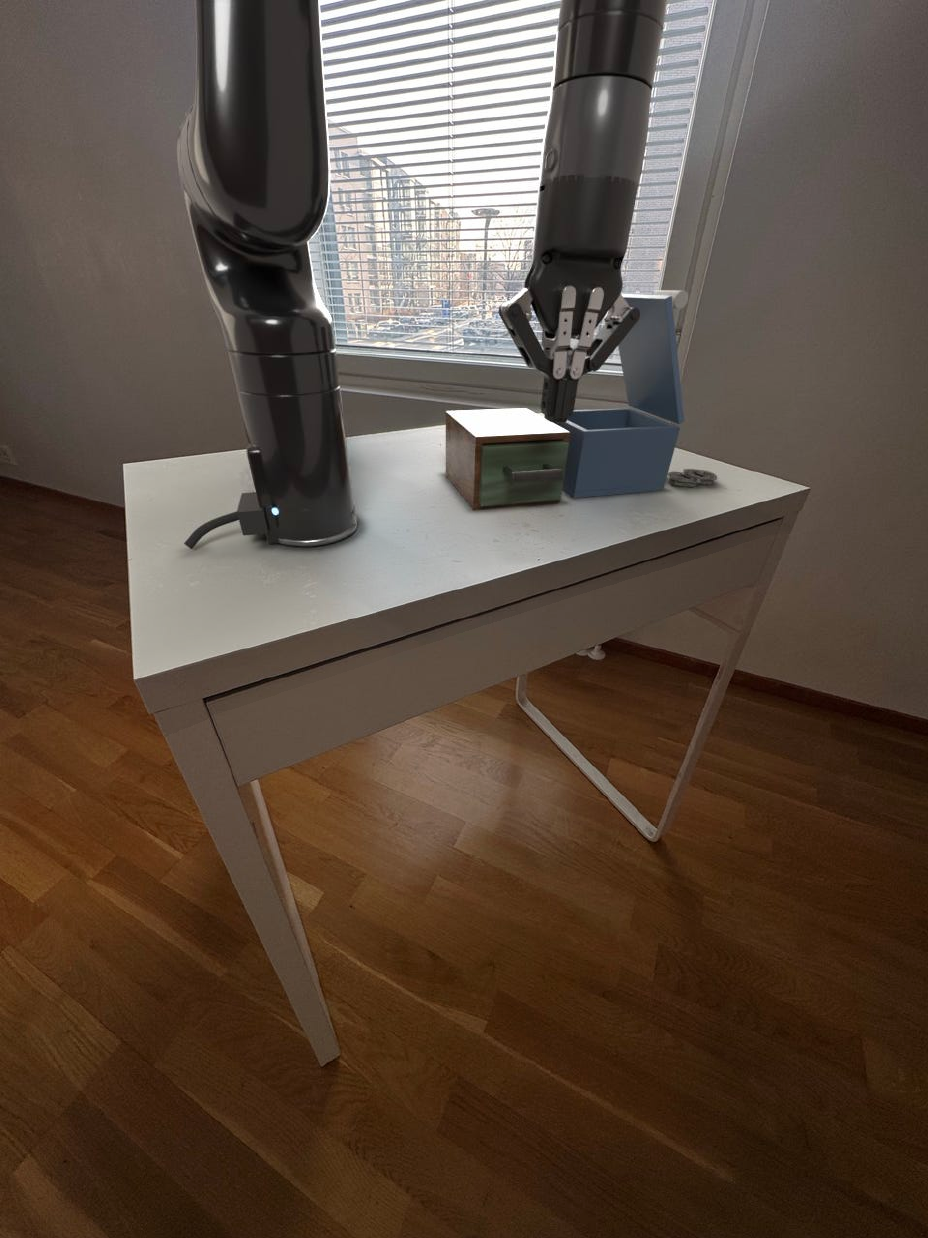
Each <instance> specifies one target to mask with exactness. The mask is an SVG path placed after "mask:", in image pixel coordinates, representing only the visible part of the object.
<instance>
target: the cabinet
mask: <svg viewBox="0 0 928 1238" xmlns="http://www.w3.org/2000/svg"><path fill="white" fill-rule="evenodd" d="M569 437H570V432H569V431H567V430H565V429H563V428H562V427H560V426H558V425H556V424H554V423H552V422H550V421H548V420H546V419H545V418H544V417H543V416H541V415H540V414H538V413H536V412H534V411H532V410H530V408H529V409H528V408H527V407H523V408H522V407H521V408H520V407H519V408H493V409H491V408H490V409H467V410H463V409H462V410H446V411H445V477H447V479H448V480H449V481H450V483H451V484H452V485H453V486H454V488H455V489H456V490H457V491H458V494H459V495H460V496H461V497H462V498H463V499H464V501H465V502H466V503H467V504H468V506H469V507H470V508H471V510H472V511H481V510H490V509H491V510H493V509H502V508H503V509H504V508H515V507H526V506H527V507H528V506H536V505H547V504H548V505H550V504H558V503H561V499H560V500H549V501H537V502H526V503H515V504H503V505H492V506H481V505H480V504H479V503H478V499H479V475H480V451H481V445H482V444H488V443H507V442H525V441H543V440H554V441H566V442H568V443H569Z"/></svg>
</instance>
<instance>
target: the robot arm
mask: <svg viewBox="0 0 928 1238" xmlns="http://www.w3.org/2000/svg"><path fill="white" fill-rule="evenodd" d="M667 6H668V0H561V1H560V7H559V13H558V20H557V21H558V23H557V30H556V38H555V46H554V47H555V48H554V56H553V57H554V59H553V69H552V77H551V89H550V92H551V93H550V98H549V105H548V110H547V116H546V120H545V126H544V131H543V140H542V147H541V158H540V165H539V166H540V167H539V179H538V189H537V198H536V208H535V218H534V219H535V220H534V230H533V239H532V261H531V264H530V268H529V270H528V272H527V274H526V276H525V278H524V282H523V283H524V285H523V286H524V288H523V289H522V290H521V291H520V292H519V293H518V294H516V295H515V296H514V297H513V298H512V299H510V301H504V302H502V303H501V304H500V305H499V307H498V316H499V317H500V319H501V321H502V323H503V325H504V327H505V328H506V330H507V332H508V334H509V336H510V338H511V340H512V341H513V343H514V345H515V347H516V349H517V351H518V352H519V355H520V356H521V358H522V360H523V362H524V363H525V366H526V367H528V368H530V369H533V370H535V371H537V372H540V373H541V374H542V377H543V384H542V393H541V401H540V411H541V414H543V415H544V416H545V419H546V420H548V421H550V422H552V423H553V422H567V420H568V416H571V415H572V413H573V411H574V410H575V404H576V399H577V393H578V385H579V382H580V379H581V378H582V376H584V375H586V374H589V373H591V372H598V371H599V370H600V369H601V368H602V366H603V365H604V364H605V362H606V361H607V360H608V359H609V358H610V356H611V355H612V354H613V353H614V351H615V350H616V349H617V348H618V345H619V344H620V343H621V341H622V340H623V339H624V338H625V336H626V335H627V334H628V333H629V331H630V330H631V329H632V328H633V326H634V325H635V324H636V323H637V321H638V320H639V318H640V311H639V309H638V308H631V307H630V306H629V305H628V303H627V302H626V300H625V299H624V298H623V296H622V295H621V294H622V291H623V285H624V281H623V278H622V263H623V262H624V258H625V255H626V253H627V250H628V245H629V240H630V234H631V228H632V223H633V217H634V212H635V206H636V201H637V196H638V191H639V186H640V185H639V184H640V179H641V175H642V171H643V163H644V158H645V152H646V146H647V139H648V132H649V121H650V110H651V101H652V100H651V99H652V92H653V87H654V79H655V76H656V71H657V70H656V69H657V64H658V60H659V59H658V58H659V53H660V48H661V42H662V38H663V32H664V27H665V21H666V20H665V19H666V13H667ZM194 10H195V11H194V13H195V88H194V99H193V102H192V104H191V105H190V107H189V108H188V110H187V111H186V113H185V114H184V116H183V118H182V120H181V123H180V125H179V128H178V133H177V139H176V162H177V169H178V176H179V182H180V187H181V191H182V196H183V198H184V203H185V208H186V211H187V215H188V220H189V224H190V228H191V232H192V236H193V240H194V243H195V244H194V245H195V247H196V251H197V256H198V259H199V263H200V266H201V271H202V275H203V278H204V282H205V286H206V290H207V294H208V298H209V300H210V304H211V306H212V309H213V311H214V314H215V316H216V318H217V321H218V323H219V326H220V329H221V332H222V336H223V340H224V341H223V342H224V345H225V349H227V350H226V353H227V357H228V362H229V367H230V371H231V375H232V377H233V383H234V387H235V391H236V396H237V401H238V405H239V409H240V413H241V417H242V422H243V426H244V430H245V434H246V439H247V444H246V445H247V446H246V451H245V453H246V457H247V460H248V461H247V462H248V465H249V469H250V474H251V478H252V482H253V486H254V490H255V491H250V492H241V495H240V498H239V502H238V505H237V509H236V511H233V512H230V513H226V514H224V515H221V516H218V517H216V518H213V519H211V520H209V521H207V522H204V523H203V524H201V525H200V526H199V527H197V528H196V529H195V530H194V531H193V532H192V533H191V534H190V535H189V536H188V538H187V539H186V540H185V541H184V542H183V544H184V545H185V546H186V547H187V548H189V549H190V550H193V549H194V547H195V546H196V545H197V544H198V543H199V541H200V540H201V539H202V538H204V536H206V535H207V534H208V533H210V532H212V531H214V530H216V529H217V528H220V527H222V526H225V525H228V524H231V523H235V522H236V521H238V522H239V526H240V530H241V533H242V536H254V535H265V538H266V541H267V544H269V545H272V544H282V545H285V546H292V547H318V546H324V545H329V544H332V543H336V542H338V541H342V540H344V539H346V538H347V537H349V536H351V535H352V534H353V533H354V532H355V531H356V530H357V528H358V520H357V516H356V507H355V503H354V494H353V486H352V485H353V484H352V475H351V467H350V459H349V452H348V451H349V450H348V441H347V434H346V425H345V417H344V415H345V414H344V408H343V407H344V406H343V399H342V390H341V389H342V388H341V382H340V373H339V365H338V356H337V349H336V339H335V331H334V323H333V319H332V316H331V314H330V313H329V310H328V309H327V308H326V306H325V305H324V303H323V301H322V299H321V297H320V294H319V292H318V289H317V288H318V287H317V286H316V282H315V278H314V277H315V276H314V272H313V271H314V270H313V265H312V259H311V253H310V246H309V241H310V240H311V239H312V238H313V237H314V236H315V235H316V233H318V231H319V229H320V227H321V225H322V223H323V221H324V217H325V215H326V213H327V209H328V204H329V198H330V191H331V164H330V163H331V162H330V145H329V144H330V143H329V129H328V128H329V127H328V117H327V116H328V115H327V103H326V90H325V75H324V74H325V73H324V71H325V70H324V56H323V42H322V22H321V20H322V19H321V0H194ZM532 310H533V312H534V314H535V315H534V316H536V319H537V321H538V324H539V325H540V327H541V329H542V331H541V343H540V341H539V339H538V337H537V335H536V333H535V331H534V329H533V327H532V325H531V323H530V322H531V320H532V317H533V312H532ZM603 319H604V324H603V325H602V326H601V328H600V329H599V330H598V332H597V333H596V334H595V330H596V329H597V328H598V327H599V325H600V323H601V322H602V321H603ZM594 335H595V336H594Z"/></svg>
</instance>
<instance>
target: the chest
mask: <svg viewBox="0 0 928 1238" xmlns="http://www.w3.org/2000/svg"><path fill="white" fill-rule="evenodd" d="M543 418H545V415H544V417H543ZM553 423H554V424H556V425H558V426H560V427H562V428H563V429H565V430H567V431H569V432H570V437H569V446H568V453H567V460H566V467H565V474H564V481H563V488H562V491H564V492H565V493H566V494H567V495H569V496H570V497H572V499H580V498H593V497H603V496H613V495H625V494H636V493H638V494H639V493H646V492H647V493H649V492H650V493H651V492H658V491H660V492H661V491H664V490H665V486H666V481H667V477H668V473H669V472H670V467H671V463H672V460H673V455H674V452H675V449H676V444H677V440H678V437H679V434H680V430H681V426H680V425H678V424H675V423H671V422H670V421H667V420H664V419H662V418H659V417H656V416H654V415H651V414H648V413H646V412H643V411H640V410H638V409H635V408H632V407H620V408H597V409H595V408H594V409H593V408H592V409H574V411H573V413H572V415H571V416H568V420H567V422H553Z"/></svg>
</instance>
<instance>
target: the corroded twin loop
mask: <svg viewBox="0 0 928 1238" xmlns="http://www.w3.org/2000/svg"><path fill="white" fill-rule="evenodd" d="M667 477H669V478H668V481H669V483H670V484H672V485H674V486H679V487H686V488H687V487H688V488H690V487H696V486H697V485H707V486H708V485H712V484H714V482H715V480H717V479H718V475H717V474H716V473H714V472H712V471H709V470H704V469H698V468H697V469H695V468H684V469H683V470H682V471H674V470H673V471H668V475H667Z"/></svg>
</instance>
